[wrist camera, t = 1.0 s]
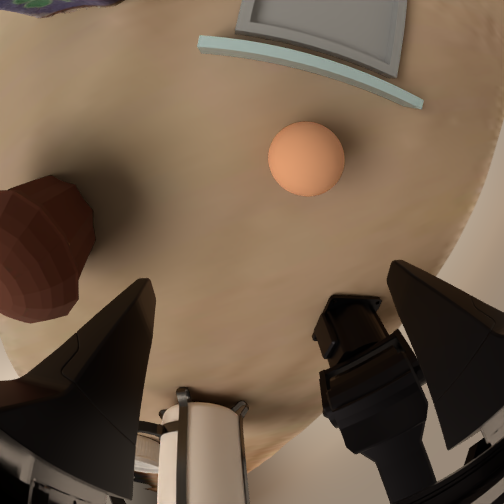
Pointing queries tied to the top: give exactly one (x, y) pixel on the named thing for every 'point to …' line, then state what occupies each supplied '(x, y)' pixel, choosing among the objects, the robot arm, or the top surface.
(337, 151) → the ball
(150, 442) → the ramekin
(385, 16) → the dish
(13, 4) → the flask
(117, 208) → the top surface
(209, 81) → the top surface
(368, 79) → the acrylic walls
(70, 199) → the muffin
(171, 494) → the coffee press
